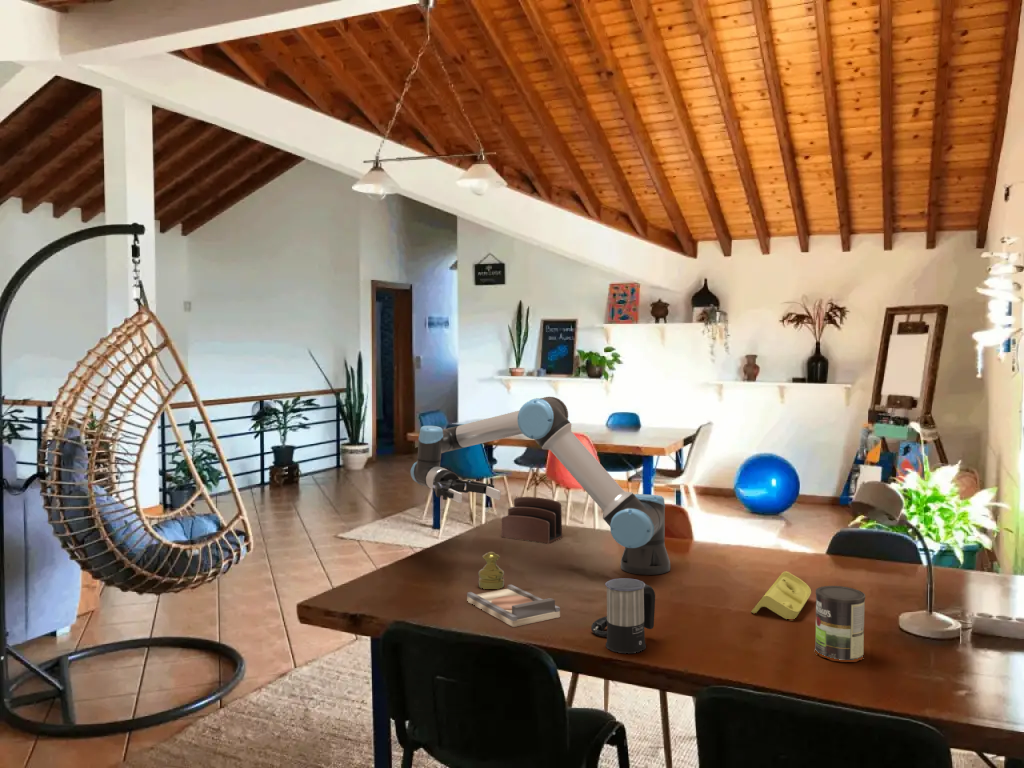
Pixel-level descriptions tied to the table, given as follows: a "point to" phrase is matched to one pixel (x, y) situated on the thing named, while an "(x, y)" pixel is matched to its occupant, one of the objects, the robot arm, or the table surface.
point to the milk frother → (626, 615)
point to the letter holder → (533, 520)
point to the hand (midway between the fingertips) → (480, 497)
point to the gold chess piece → (491, 573)
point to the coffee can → (840, 622)
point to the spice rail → (510, 593)
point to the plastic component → (785, 596)
